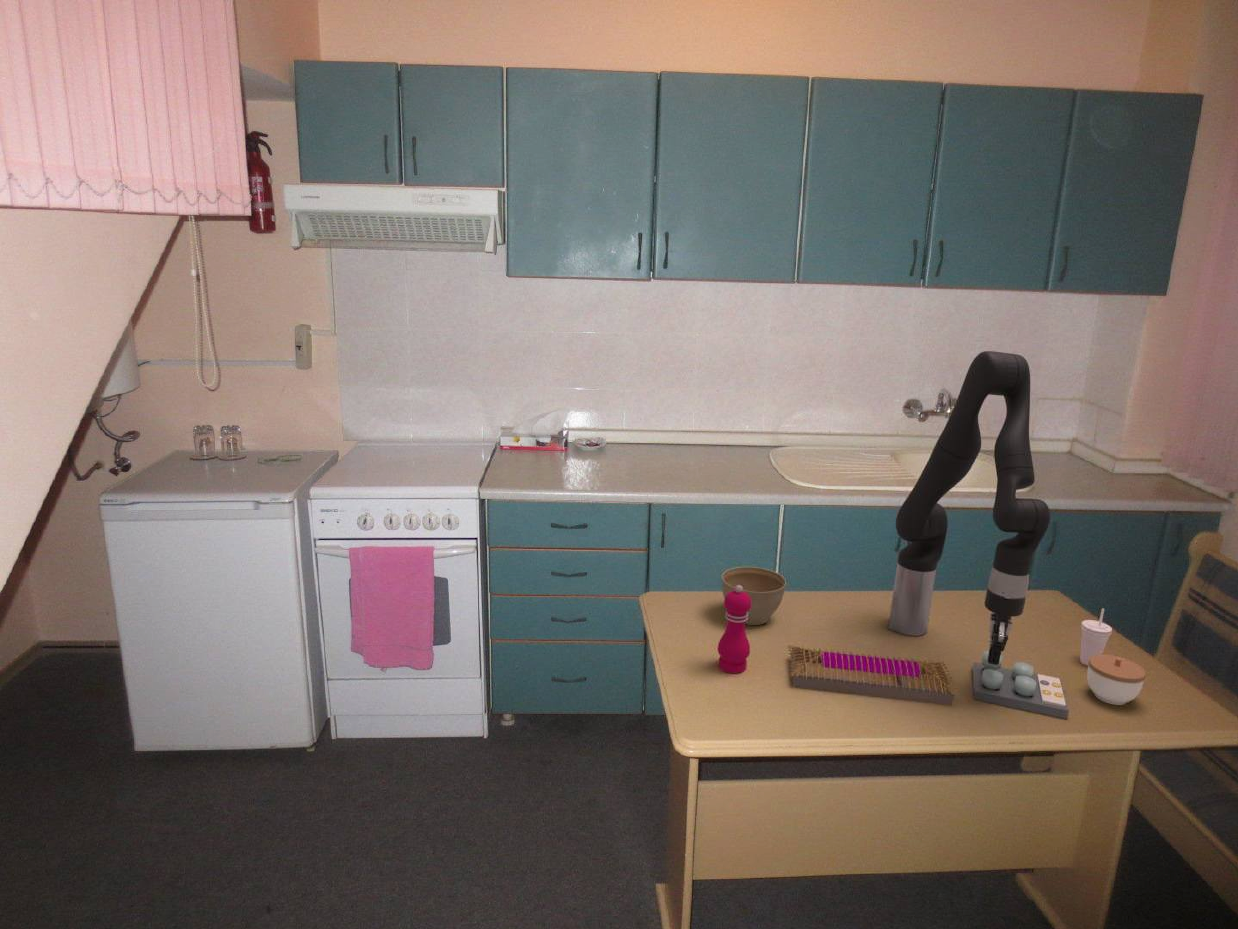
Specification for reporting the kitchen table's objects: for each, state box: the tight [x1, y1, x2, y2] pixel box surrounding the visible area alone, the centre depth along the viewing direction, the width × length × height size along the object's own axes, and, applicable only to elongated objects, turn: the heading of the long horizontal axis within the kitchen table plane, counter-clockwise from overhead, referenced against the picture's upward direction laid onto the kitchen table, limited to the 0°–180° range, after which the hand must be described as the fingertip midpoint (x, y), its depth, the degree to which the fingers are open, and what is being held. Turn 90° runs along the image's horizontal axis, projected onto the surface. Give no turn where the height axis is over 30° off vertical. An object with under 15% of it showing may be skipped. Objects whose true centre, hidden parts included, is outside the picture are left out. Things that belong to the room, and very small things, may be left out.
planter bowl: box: [721, 566, 787, 626], centre depth 210 cm, size 16×16×11 cm
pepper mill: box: [717, 585, 751, 674], centre depth 184 cm, size 7×7×20 cm
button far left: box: [981, 649, 1003, 670], centre depth 184 cm, size 4×4×4 cm
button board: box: [972, 661, 1069, 720], centre depth 180 cm, size 18×14×3 cm
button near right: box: [1014, 676, 1036, 697], centre depth 177 cm, size 4×4×4 cm
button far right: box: [1012, 661, 1035, 680], centre depth 183 cm, size 4×4×4 cm
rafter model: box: [787, 644, 960, 706], centre depth 182 cm, size 35×14×6 cm, turn 81°
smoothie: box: [1079, 608, 1113, 667], centre depth 194 cm, size 6×6×14 cm
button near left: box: [981, 669, 1003, 690], centre depth 179 cm, size 4×4×4 cm
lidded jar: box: [1086, 653, 1147, 706], centre depth 179 cm, size 11×11×9 cm
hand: (992, 662), depth 178 cm, fingers closed
